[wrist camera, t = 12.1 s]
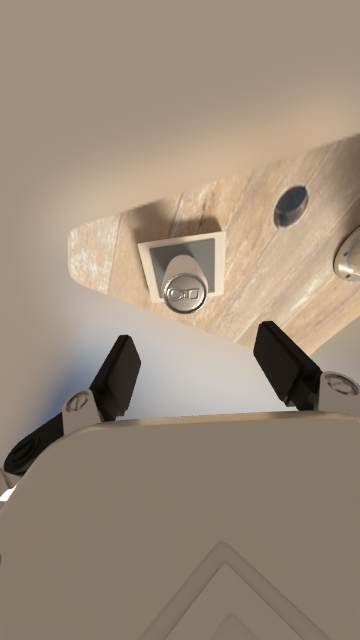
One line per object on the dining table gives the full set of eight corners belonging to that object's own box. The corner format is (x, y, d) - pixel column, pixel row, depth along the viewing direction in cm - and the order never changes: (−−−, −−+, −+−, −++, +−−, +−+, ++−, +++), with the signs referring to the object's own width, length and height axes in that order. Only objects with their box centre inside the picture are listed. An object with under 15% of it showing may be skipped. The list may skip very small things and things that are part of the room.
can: (165, 254, 26) (157, 269, 16) (200, 253, 26) (213, 268, 16) (167, 287, 30) (161, 317, 20) (198, 287, 30) (208, 316, 20)
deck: (222, 230, 27) (226, 231, 24) (220, 290, 34) (223, 295, 31) (141, 242, 28) (136, 243, 25) (154, 297, 35) (152, 303, 32)
